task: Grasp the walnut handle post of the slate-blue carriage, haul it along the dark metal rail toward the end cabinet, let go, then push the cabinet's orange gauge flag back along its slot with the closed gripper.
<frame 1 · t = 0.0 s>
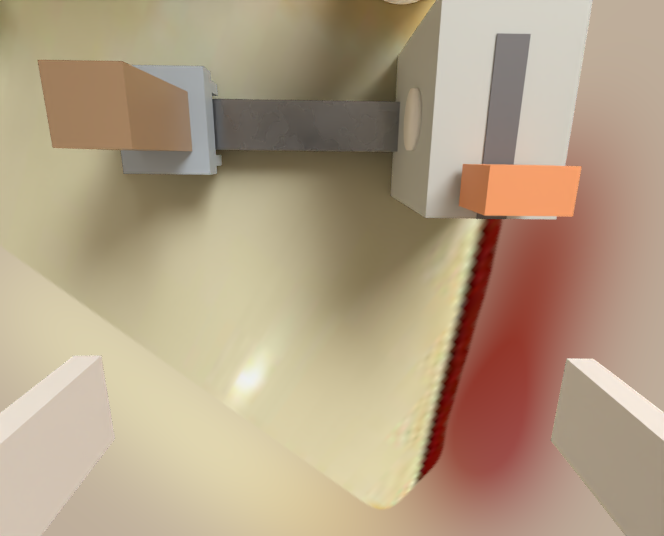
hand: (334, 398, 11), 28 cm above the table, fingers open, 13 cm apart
carriage: (144, 117, 28), point 8 cm above the table, slide at 0.0 cm
rail: (261, 127, 36), on the table
cabinet: (437, 129, 36), on the table
gauge flag: (513, 188, 21), point 16 cm above the table, slide at 0.0 cm
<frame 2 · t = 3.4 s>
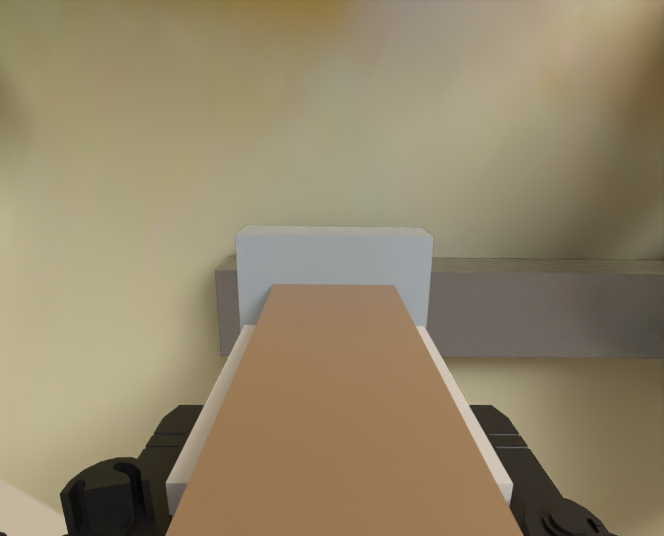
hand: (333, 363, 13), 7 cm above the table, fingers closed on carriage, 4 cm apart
carriage: (334, 385, 12), point 8 cm above the table, slide at 0.0 cm, touching gripper
rail: (471, 296, 20), on the table
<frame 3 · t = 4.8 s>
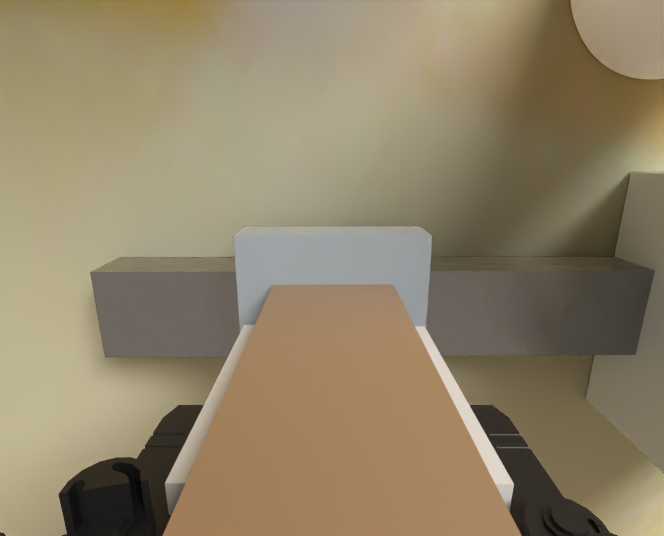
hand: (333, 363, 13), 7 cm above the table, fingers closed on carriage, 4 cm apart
carriage: (334, 385, 12), point 8 cm above the table, slide at 5.2 cm, touching gripper
rail: (367, 295, 20), on the table
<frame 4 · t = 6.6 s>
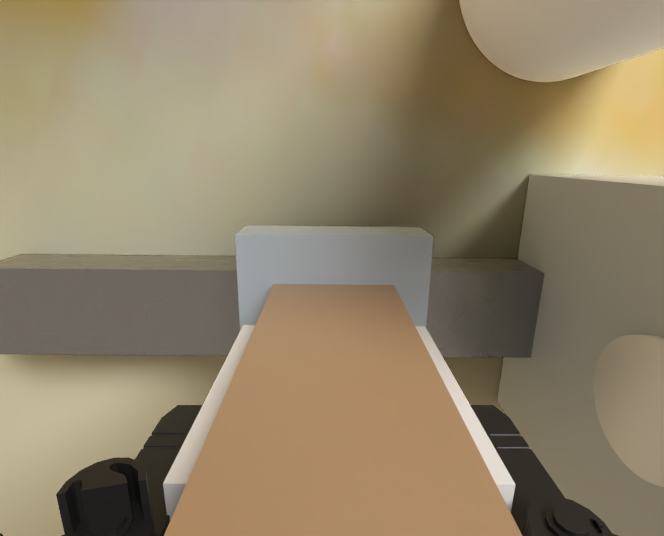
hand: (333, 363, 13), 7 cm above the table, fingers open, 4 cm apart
carriage: (334, 385, 12), point 8 cm above the table, slide at 10.0 cm
rail: (272, 295, 20), on the table
cabinet: (591, 297, 20), on the table
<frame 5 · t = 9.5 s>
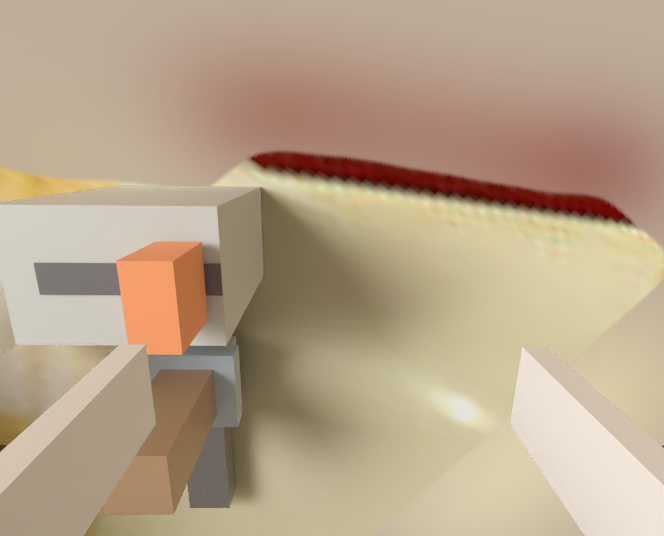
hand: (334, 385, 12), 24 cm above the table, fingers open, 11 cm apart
carriage: (175, 415, 31), point 8 cm above the table, slide at 10.0 cm
rail: (208, 390, 39), on the table
cabinet: (194, 232, 35), on the table
gauge flag: (167, 294, 19), point 16 cm above the table, slide at 0.0 cm
cup: (45, 273, 36), on the table
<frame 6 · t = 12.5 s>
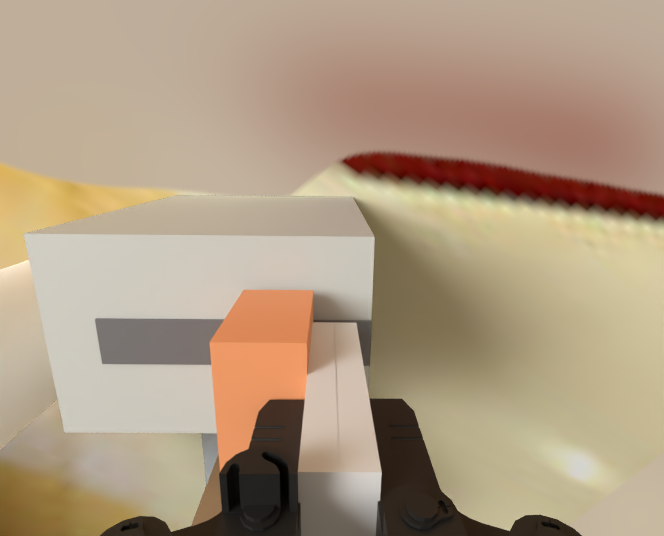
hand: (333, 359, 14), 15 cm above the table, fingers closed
carriage: (253, 492, 24), point 8 cm above the table, slide at 10.0 cm
cabinet: (266, 252, 28), on the table
gauge flag: (272, 377, 12), point 16 cm above the table, slide at 1.3 cm, touching gripper
cup: (80, 302, 29), on the table
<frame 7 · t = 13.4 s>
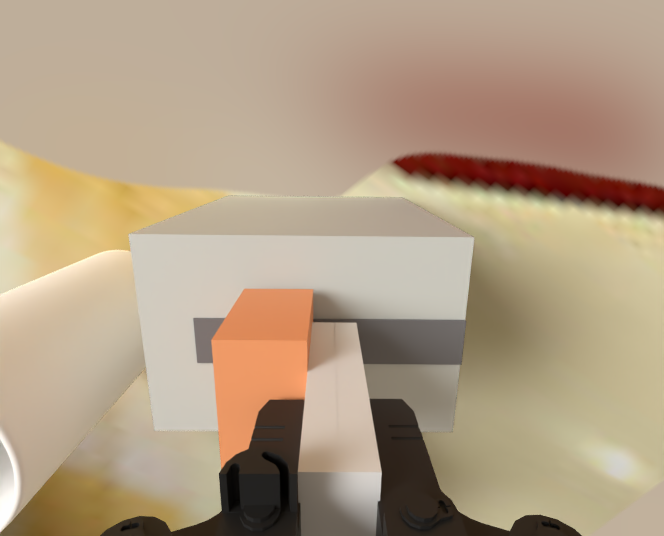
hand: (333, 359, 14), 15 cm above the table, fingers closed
cabinet: (315, 253, 28), on the table
gauge flag: (272, 375, 12), point 16 cm above the table, slide at 4.8 cm, touching gripper
cup: (127, 302, 29), on the table
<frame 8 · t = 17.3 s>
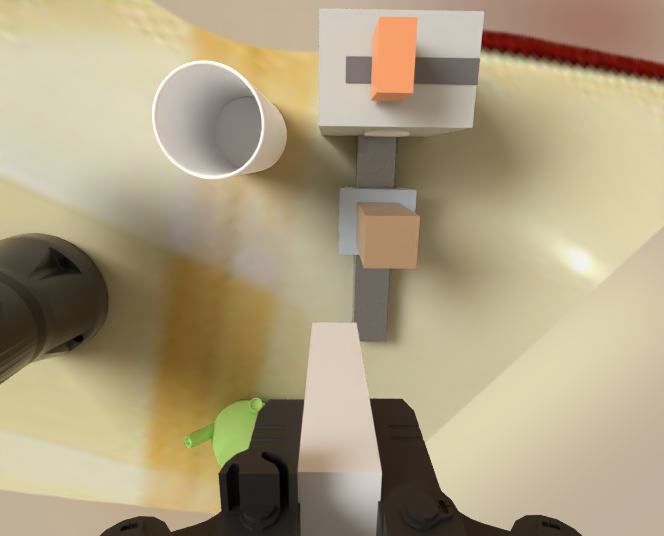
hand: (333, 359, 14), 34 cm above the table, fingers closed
carriage: (380, 228, 39), point 8 cm above the table, slide at 10.0 cm
rail: (371, 240, 48), on the table
cabinet: (376, 97, 43), on the table
gauge flag: (391, 62, 27), point 16 cm above the table, slide at 4.9 cm
teapot: (254, 415, 54), on the table
cup: (250, 134, 44), on the table
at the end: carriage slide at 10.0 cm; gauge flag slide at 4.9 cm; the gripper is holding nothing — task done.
